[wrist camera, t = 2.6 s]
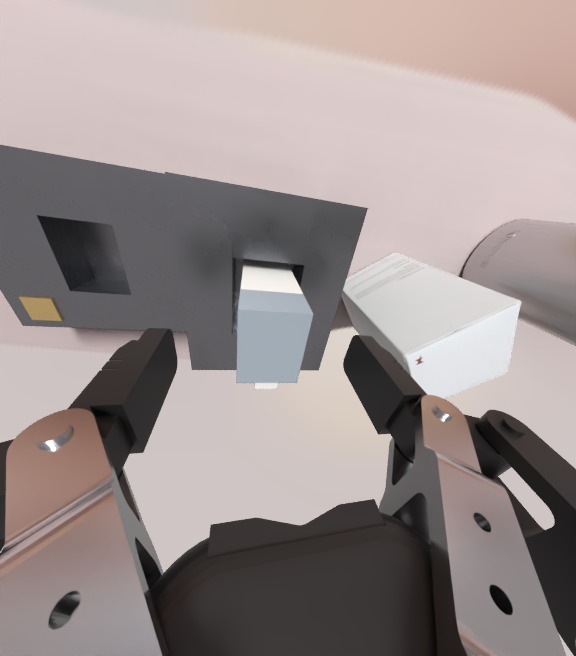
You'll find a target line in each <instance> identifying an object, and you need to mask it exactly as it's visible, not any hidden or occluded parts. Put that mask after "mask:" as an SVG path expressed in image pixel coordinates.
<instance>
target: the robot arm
mask: <svg viewBox="0 0 576 656" xmlns="http://www.w3.org/2000/svg"><path fill="white" fill-rule="evenodd" d="M462 278H463V279H465V280H468V281H470V282H473V283H476V284H478V285H481V286H483V287H486V288H488V289H491V290H494V291H496V292H499V293H501V294H504V295H507V296H509V297H512V298H515V299H518V300H520V301H521V302H522V303H521V306H520V311H519V315H518V319H519V320H521V321H523V322H526V323H528V324H530V325H532V326H534V327H536V328H538V329H541V330H543V331H545V332H547V333H549V334H551V335H553V336H556V337H558V338H560V339H562V340H564V341H566V342H569V343H570V344H573V345H575V346H576V224H574V223H562V222H551V221H539V220H528V219H521V220H515V221H513V222H510V223H507V224H505V225H503V226H502V227H500V228H498V229H497V230H495V231H494V232H493V233H491V234H490V235H489V236H487V237H486V238H485V239H484V240H483V241H482V242H481V243H480V244H479V246H478V247H477V248H476V249H475V250H474V252H473V253H472V255H471V256H470V258H469V259H468V261H467V263H466V266H465V268H464V270H463V274H462ZM343 366H344V371H345V373H346V375H347V377H348V379H349V381H350V382H351V384H352V386H353V388H354V390H355V392H356V394H357V395H358V397H359V399H360V401H361V403H362V405H363V407H364V408H365V410H366V412H367V414H368V416H369V418H370V419H371V421H372V423H373V425H374V427H375V429H376V431H377V433H378V434H391V436H392V437H393V438H392V440H391V441H390V445H389V456H388V457H389V458H388V468H387V479H386V488H385V492H384V495H383V498H382V500H381V502H380V506H379V509H378V507H377V505H376V502H375V500H374V499H372V500H366V501H360V502H353V503H347V504H341V505H338V506H336V507H335V508H333V509H331V510H329V511H327V512H326V513H324V514H322V515H321V516H319V517H317V518H315V519H314V520H312V521H310V522H309V523H307V524H305V525H301V526H298V525H292V524H288V523H282V522H277V521H271V520H266V519H261V518H251V519H245V520H238V521H232V522H226V523H220V524H213V525H211V528H210V537H209V538H207V539H205V540H203V541H201V542H199V543H198V544H197V545H195V546H194V547H192V548H191V549H189V550H188V551H187V552H185V553H184V554H183V555H182V556H181V557H180V558H178V559H177V560H176V561H175V562H174V563H173V564H172V565H171V566H170V567H169V568H168V569H167V570H166V572H164V573H163V570H162V567H161V565H160V562H159V559H158V557H157V554H156V551H155V549H154V546H153V544H152V541H151V539H150V537H149V535H148V533H147V531H146V528H145V526H144V523H143V521H142V518H141V515H140V512H139V509H138V507H137V504H136V501H135V498H134V495H133V493H132V490H131V487H130V485H129V482H128V479H127V476H126V473H125V471H124V468H123V466H124V464H125V462H126V459H127V457H128V455H129V454H131V453H143V452H144V449H145V447H146V444H147V442H148V439H149V437H150V435H151V432H152V430H153V427H154V425H155V422H156V420H157V417H158V415H159V412H160V410H161V407H162V405H163V403H164V400H165V398H166V395H167V393H168V390H169V388H170V386H171V383H172V381H173V378H174V376H175V373H176V370H177V354H176V349H175V343H174V338H173V333H172V330H171V329H166V328H148V329H147V330H146V331H145V332H144V333H143V335H142V336H141V337H140V339H139V340H138V341H137V340H132V341H130V342H128V343H127V344H125V345H124V346H122V347H120V348H119V349H118V350H117V351H116V352H115V353H114V354H113V356H112V357H111V358H110V359H109V362H107V363H106V364H105V365H104V366H103V368H102V371H99V372H98V373H97V375H96V376H95V377H94V378H93V380H92V381H91V382H90V383H89V384H88V385H87V387H86V388H85V389H84V390H83V391H82V393H81V394H80V395H79V396H78V397H77V398H76V400H75V401H74V402H73V403H72V404H71V406H70V407H69V408H68V409H67V410H62V411H59V412H56V413H53V414H50V415H48V416H46V417H44V418H42V419H40V420H38V421H37V422H35V423H33V424H32V425H30V426H29V427H28V428H26V429H25V430H23V431H22V432H21V433H20V434H19V435H18V436H17V437H16V438H15V439H13V440H9V441H6V442H2V443H0V551H1V549H2V548H3V546H4V548H3V550H2V552H1V553H0V656H566V654H565V651H564V648H563V645H562V643H561V640H560V637H559V635H558V633H559V634H560V635H561V637H562V639H563V640H564V642H565V643H566V645H567V646H568V648H569V649H570V650H571V652H572V653H573V655H574V656H576V469H575V468H574V467H572V466H571V465H570V464H569V463H568V462H567V461H566V460H565V459H563V458H562V457H561V456H560V455H559V454H558V453H557V452H555V451H554V450H553V449H552V448H551V447H550V446H549V445H547V444H546V443H545V442H544V441H543V440H542V439H541V438H539V437H538V436H537V435H536V434H535V433H534V432H533V431H531V430H530V429H529V428H528V427H527V426H526V425H524V424H523V423H522V422H520V421H519V420H517V419H516V418H514V417H512V416H510V415H508V414H506V413H504V412H501V411H497V410H489V411H487V412H486V413H485V414H484V415H483V416H482V417H481V418H476V417H472V416H468V415H463V414H462V412H461V411H460V410H459V409H458V408H457V407H455V406H454V405H453V404H451V403H450V402H449V401H447V400H445V399H443V398H441V397H438V396H435V395H427V393H426V392H425V391H424V390H423V389H422V388H421V387H420V386H419V385H418V383H417V382H416V381H415V380H414V379H413V378H412V377H411V376H410V374H409V373H408V372H407V371H406V370H405V369H403V367H402V365H401V364H400V363H398V362H397V360H396V359H395V358H394V356H393V355H392V354H391V353H390V352H388V351H387V350H385V349H384V348H383V347H381V346H380V345H379V344H378V343H377V341H376V340H375V339H374V338H373V337H372V336H367V335H355V336H353V338H352V340H351V342H350V345H349V348H348V350H347V353H346V356H345V358H344V363H343ZM511 467H512V468H513V469H514V470H515V471H516V472H517V473H518V474H519V475H520V477H521V478H522V479H523V480H524V481H525V482H526V483H527V484H528V485H529V486H530V487H531V489H532V490H533V491H534V492H536V494H537V495H538V496H539V497H540V498H541V499H542V500H543V502H544V503H545V504H546V505H547V506H548V507H549V509H550V510H551V512H552V514H553V516H554V519H555V524H554V526H553V527H552V528H550V529H547V530H544V529H542V528H541V527H540V526H539V525H538V524H537V523H536V521H535V520H534V519H533V518H532V516H531V515H530V514H529V513H528V512H527V510H526V509H525V508H524V507H523V506H522V504H521V503H520V502H519V501H518V500H517V499H516V497H515V496H514V495H513V494H512V492H511V491H510V490H509V489H508V488H507V487H506V485H505V484H504V483H503V482H502V481H501V479H500V478H499V477H498V476H499V475H500V474H502V473H503V472H505V471H506V470H508V469H509V468H511ZM557 631H558V632H557Z"/></svg>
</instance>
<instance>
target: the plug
mask: <svg viewBox="0 0 576 656" xmlns="http://www.w3.org/2000/svg"><path fill="white" fill-rule="evenodd" d="M312 318H313V312H312V310H311V308H310V306H309V304H308V302H307V300H306V298H305V296H304V294H303V292H302V291H301V289H300V287H299V285H298V283H297V281H296V279H295V277H294V275H293V273H292V271H291V269H290V267H289V265H288V263H279V262H270V261H261V260H252V259H244V264H243V272H242V280H241V288H240V297H239V305H238V331H237V383H254V389H277V386H278V383H293V382H294V383H297V380H298V376H299V372H300V368H301V364H302V359H303V355H304V351H305V347H306V343H307V339H308V334H309V330H310V326H311V322H312Z"/></svg>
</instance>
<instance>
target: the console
mask: <svg viewBox="0 0 576 656" xmlns="http://www.w3.org/2000/svg"><path fill="white" fill-rule="evenodd" d="M367 209H368V208H364V207H358V206H352V205H347V204H341V203H336V202H330V201H324V200H319V199H313V198H308V197H302V196H297V195H291V194H285V193H280V192H274V191H269V190H263V189H257V188H252V187H246V186H241V185H235V184H229V183H224V182H218V181H213V180H207V179H201V178H196V177H190V176H185V175H179V174H173V173H168V172H165V174H162V173H157V172H151V171H145V170H140V169H134V168H129V167H123V166H117V165H112V164H106V163H100V162H95V161H89V160H83V159H78V158H72V157H66V156H61V155H55V154H49V153H44V152H38V151H32V150H27V149H21V148H15V147H10V146H4V145H0V290H1V291H2V293H3V295H4V296H5V298H6V299H7V301H8V303H9V304H10V306H11V307H12V309H13V311H14V312H15V314H16V315H17V317H18V318H19V320H20V322H21V323H22V325H23V326H46V327H72V328H99V329H125V330H147V329H148V328H166V329H171V330H172V331H178V332H187V337H188V344H189V351H190V359H191V366H192V370H237V331H238V305H239V297H240V288H241V280H242V272H243V264H244V259H252V260H261V261H270V262H279V263H288V265H289V267H290V269H291V271H292V273H293V275H294V277H295V279H296V281H297V283H298V285H299V287H300V289H301V291H302V292H303V294H304V296H305V298H306V300H307V302H308V304H309V306H310V308H311V310H312V312H313V318H312V322H311V326H310V330H309V334H308V339H307V343H306V347H305V351H304V355H303V359H302V364H301V368H300V370H319V367H320V363H321V360H322V357H323V353H324V350H325V347H326V344H327V340H328V337H329V334H330V331H331V327H332V324H333V321H334V317H335V314H336V311H337V308H338V304H339V301H340V298H341V294H342V291H343V288H344V285H345V281H346V278H347V275H348V272H349V268H350V265H351V262H352V258H353V255H354V252H355V249H356V245H357V242H358V239H359V235H360V232H361V229H362V226H363V222H364V219H365V216H366V212H367Z"/></svg>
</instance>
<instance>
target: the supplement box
mask: <svg viewBox="0 0 576 656" xmlns="http://www.w3.org/2000/svg"><path fill="white" fill-rule="evenodd" d="M341 297H342V299H343V302H344V304H345V307H346V309H347V312H348V314H349V317H350V319H351V322H352V324H353V327H354V328H355V330H356V331H357V332H358V333H359V335H367V336H372V337H373V338H374V339H375V340H376V341H377V343H378V344H379V345H380V346H381V347H383V348H384V349H385V350H387V351H388V352H390V353H391V354H392V355H393V356H394V358H395V359H396V360H397V362H398V363H400V364H401V365H402V367H403V369H405V370H406V371H407V372H408V373H409V374H410V376H411V377H412V378H413V379H414V380H415V381H416V382H417V383H418V385H419V386H420V387H421V388H422V389H423V390H424V391H425V392H426V393H427V395H435V396H438V397H441V398H443V399H446V398H448V397H451V396H453V395H455V394H458V393H460V392H462V391H465V390H467V389H470V388H472V387H475V386H477V385H479V384H482V383H484V382H486V381H489V380H491V379H494V378H496V377H499V376H501V375H504V374H506V373H507V372H508V368H509V363H510V357H511V353H512V348H513V342H514V336H515V331H516V325H517V319H518V315H519V311H520V306H521V303H522V302H521V301H520V300H518V299H515V298H512V297H509V296H507V295H504V294H501V293H499V292H496V291H494V290H491V289H488V288H486V287H483V286H481V285H478V284H476V283H473V282H470V281H468V280H465V279H463V278H460V277H458V276H455V275H453V274H450V273H448V272H445V271H443V270H440V269H437V268H435V267H432V266H430V265H427V264H425V263H422V262H420V261H417V260H415V259H412V258H409V257H407V256H404V255H402V254H399V253H396V252H394V253H392V254H390V255H388V256H386V257H385V258H383V259H381V260H379V261H377V262H375V263H374V264H372V265H370V266H368V267H366V268H364V269H363V270H361V271H359V272H357V273H355V274H353V275H352V276H350V277H348V278H346V281H345V285H344V288H343V291H342V294H341Z"/></svg>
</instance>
